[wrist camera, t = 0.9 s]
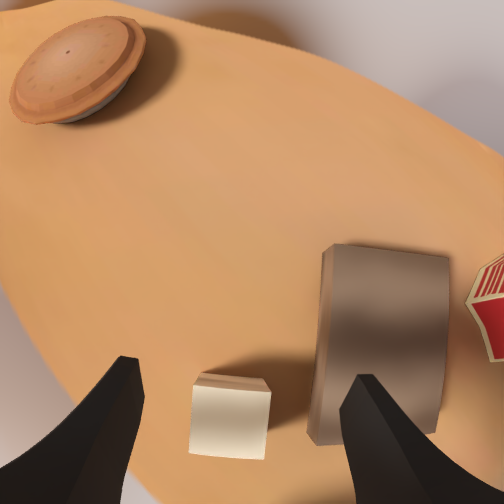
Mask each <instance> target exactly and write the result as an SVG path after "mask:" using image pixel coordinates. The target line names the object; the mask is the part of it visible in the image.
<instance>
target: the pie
mask: <svg viewBox="0 0 504 504" xmlns="http://www.w3.org/2000/svg"><path fill="white" fill-rule="evenodd" d="M145 44H146V37H145V34H144V32H143V29H142V27H141V26H140V25H139V24H138V23H137V22H136V21H135V20H134V19H130V18H126V17H121V16H104V17H98V18H92V19H88V20H84V21H81V22H78V23H75V24H73V25H70V26H68V27H66V28H64V29H62V30H61V31H59V32H57V33H55V34H54V35H52V36H51V37H50V38H48V39H47V40H46V41H44V42H43V43H42V44H41V45H40V46H39V47H38V48H37V49H36V50H35V51H34V52H33V53H32V54H31V55H30V56H29V58H28V59H27V60H26V61H25V62H24V64H23V65H22V67H21V68H20V70H19V71H18V73H17V74H16V77H15V79H14V82H13V84H12V87H11V92H10V98H9V103H10V106H11V109H12V112H13V114H14V115H16V116H17V117H18V118H19V119H20V120H21V121H22V122H26V123H31V124H36V125H37V124H44V123H59V124H60V123H68V122H74V121H77V120H80V119H83V118H86V117H88V116H90V115H91V114H93V113H95V112H97V111H99V110H100V109H102V108H103V107H104V106H106V105H107V104H108V103H109V102H111V101H112V100H113V99H114V98H115V97H116V96H117V95H118V94H119V92H120V91H121V90H122V89H123V88H124V87H125V85H126V83H127V81H128V79H129V77H130V75H131V74H132V73H133V72H134V71H135V70H136V68H137V66H138V64H139V62H140V60H141V58H142V56H143V54H144V49H145Z"/></svg>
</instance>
